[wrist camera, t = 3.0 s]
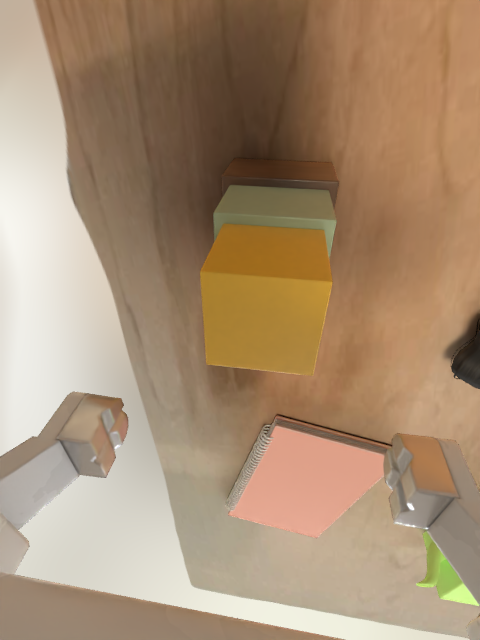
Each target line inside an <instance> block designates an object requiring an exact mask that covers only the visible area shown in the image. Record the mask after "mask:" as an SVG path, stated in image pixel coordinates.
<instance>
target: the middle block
mask: <svg viewBox="0 0 480 640" xmlns="http://www.w3.org/2000/svg"><path fill="white" fill-rule="evenodd" d="M213 218H214V242H215V240H216V238H217V236H218V233H219V231H220V229H221V227H222V225H223V224H240V225H255V226H271V227H286V228H301V229H317V230H324V231H325V237H326V244H327V250H328V256H329V258H330V253H331V248H332V242H333V237H334V232H335V227H336V222H337V221H336V217H335V213H334V209H333V205H332V201H331V197H330V193H329V190H317V189H298V188H279V187H260V186H241V185H230V186H229V187H228V189H227V191H226V193H225V194H224V196H223V198H222V199H221V201H220V203H219V204H218V206H217V208H216V209H215V211H214V213H213Z"/></svg>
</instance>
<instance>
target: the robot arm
mask: <svg viewBox="0 0 480 640" xmlns="http://www.w3.org/2000/svg"><path fill="white" fill-rule="evenodd" d="M123 406H124V404H123V402H122V399H121V398H115V397H108V396H101V395H95V394H89V393H81V392H72V393H70V394H69V395H67V397H66V398H65V399H64V401H63V402H62V404H61V405H60V407H59V408H58V409H57V411H56V412H55V413H54V415H53V416H52V418H51V419H50V420H49V422H48V423H47V424H46V426H45V427H44V429H43V430H42V431H41V433H40V434H39V436H38V437H32V438H30V439H28V440H26V441H25V442H23V443H21V444H20V445H18V446H17V447H15V448H13V449H12V450H10V451H9V452H7V453H5V454H4V455H2V456H0V640H344V639H339V638H334V637H329V636H323V635H319V634H313V633H309V632H304V631H298V630H293V629H288V628H283V627H278V626H273V625H268V624H263V623H258V622H252V621H248V620H242V619H238V618H232V617H227V616H222V615H217V614H212V613H207V612H202V611H197V610H192V609H187V608H182V607H177V606H171V605H166V604H161V603H156V602H151V601H146V600H141V599H136V598H130V597H126V596H121V595H115V594H111V593H106V592H100V591H95V590H90V589H85V588H80V587H75V586H70V585H65V584H60V583H55V582H50V581H45V580H39V579H34V578H29V577H24V576H19V575H14V573H15V572H16V570H17V568H18V566H19V564H20V562H21V561H22V559H23V557H24V555H25V554H26V552H27V550H28V548H29V541H28V540H27V539H26V538H25V537H24V536H23V535H22V534H21V533H20V532H19V531H18V530H19V529H20V528H21V527H23V525H25V524H26V523H27V522H28V521H29V520H30V519H32V518H33V517H34V516H35V515H36V514H37V513H38V512H39V511H41V510H42V509H43V508H44V507H45V506H46V505H47V504H49V502H51V501H52V500H53V499H54V498H55V497H56V496H58V495H59V494H60V493H61V492H62V491H63V490H64V489H65V488H67V487H68V486H69V485H70V484H71V483H72V482H73V481H74V480H76V479H77V478H78V477H79V475H86V476H94V477H101V478H106V477H107V475H108V472H109V470H110V468H111V466H112V464H113V462H114V460H115V458H116V456H115V451H114V450H115V449H116V448H118V447H119V446H120V445H122V443H123V441H124V439H125V437H126V434H127V429H128V417H127V414H126V413H125V412H123V411H122V408H123ZM392 444H393V446H392V447H390V448H388V449H387V450H386V453H385V455H384V461H383V471H384V477H385V482H386V483H387V485H388V486H389V487H390V488H391V489H392V490H393V491H392V493H391V495H390V497H389V502H390V507H391V511H392V516H393V521H394V523H395V524H400V525H406V526H411V527H417V528H422V529H427V533H428V534H429V535H430V537H431V538H432V540H433V541H434V542H435V544H436V545H437V547H438V548H439V549H440V551H441V552H442V554H443V555H444V556H445V558H446V559H447V561H448V562H449V563H450V565H451V566H452V568H453V569H454V570H455V572H456V573H457V575H458V576H459V578H460V579H461V580H462V582H463V583H464V585H465V586H466V587H467V589H468V590H469V592H470V593H471V594H472V596H473V597H474V599H475V600H476V601H477V603H478V604H479V606H480V493H479V490H478V488H477V486H476V483H475V481H474V479H473V476H472V474H471V472H470V469H469V467H468V465H467V462H466V460H465V458H464V455H463V453H462V451H461V448H460V446H459V444H458V443H457V442H456V441H454V440H448V439H438V438H433V437H427V436H418V435H409V434H400V433H397V434H395V435H394V436H393V438H392ZM466 629H467V632H468V636H469V639H470V640H480V616H479V617H478V618H476V619H474V620H472V621H471V622H470V623H469V624H468V625H467V627H466Z"/></svg>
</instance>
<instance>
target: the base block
mask: <svg viewBox="0 0 480 640" xmlns="http://www.w3.org/2000/svg"><path fill="white" fill-rule="evenodd" d="M230 185H241V186H260V187H279V188H298V189H317V190H329V193H330V197H331V201H332V205H333V209H334V207H335V202H336V197H337V191H338V186H339V180H338V178H337V175H336V172H335V169H334V167H333V164H332V163H331V162H309V161H286V160H263V159H241V158H235V159H234V160H233V161H232V162H231V164H230V165H229V167H228V168H227V169H226V171H225V172H224V174H223V175H222V198H223V196H224V194H225V193H226V191H227V189H228V187H229V186H230Z"/></svg>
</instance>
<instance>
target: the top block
mask: <svg viewBox="0 0 480 640" xmlns="http://www.w3.org/2000/svg"><path fill="white" fill-rule="evenodd" d="M200 279H201V294H202V308H203V323H204V337H205V352H206V364H209V365H218V366H227V367H236V368H245V369H255V370H264V371H273V372H282V373H291V374H300V375H309V376H313V374H314V369H315V364H316V360H317V355H318V350H319V345H320V341H321V336H322V331H323V326H324V322H325V317H326V312H327V308H328V303H329V298H330V293H331V289H332V284H333V281H332V275H331V268H330V262H329V256H328V250H327V244H326V237H325V231H324V230H317V229H301V228H286V227H271V226H255V225H240V224H223V225H222V227H221V229H220V231H219V233H218V236H217V238H216V240H215V242H214V244H213V246H212V248H211V250H210V252H209V254H208V256H207V258H206V260H205V262H204V264H203V266H202V268H201V271H200Z"/></svg>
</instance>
